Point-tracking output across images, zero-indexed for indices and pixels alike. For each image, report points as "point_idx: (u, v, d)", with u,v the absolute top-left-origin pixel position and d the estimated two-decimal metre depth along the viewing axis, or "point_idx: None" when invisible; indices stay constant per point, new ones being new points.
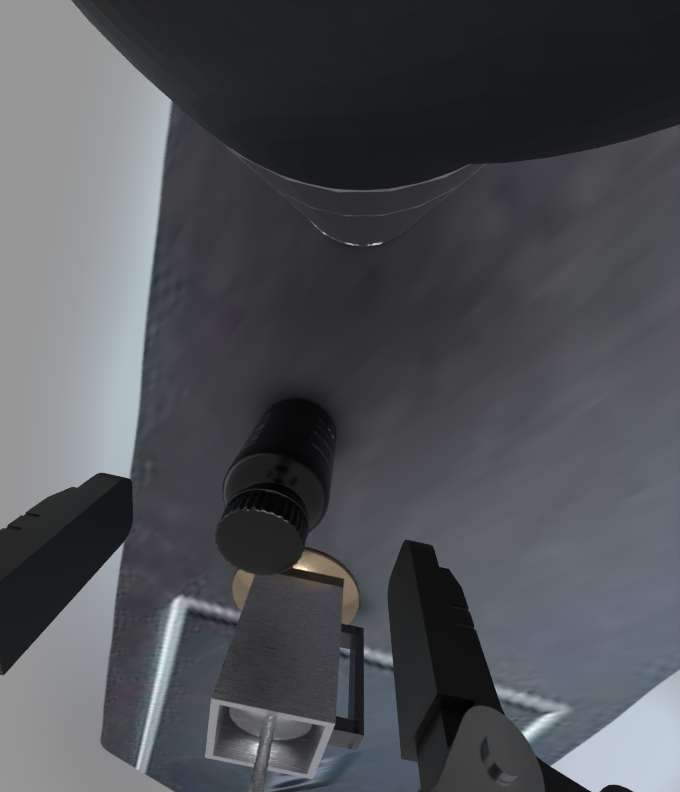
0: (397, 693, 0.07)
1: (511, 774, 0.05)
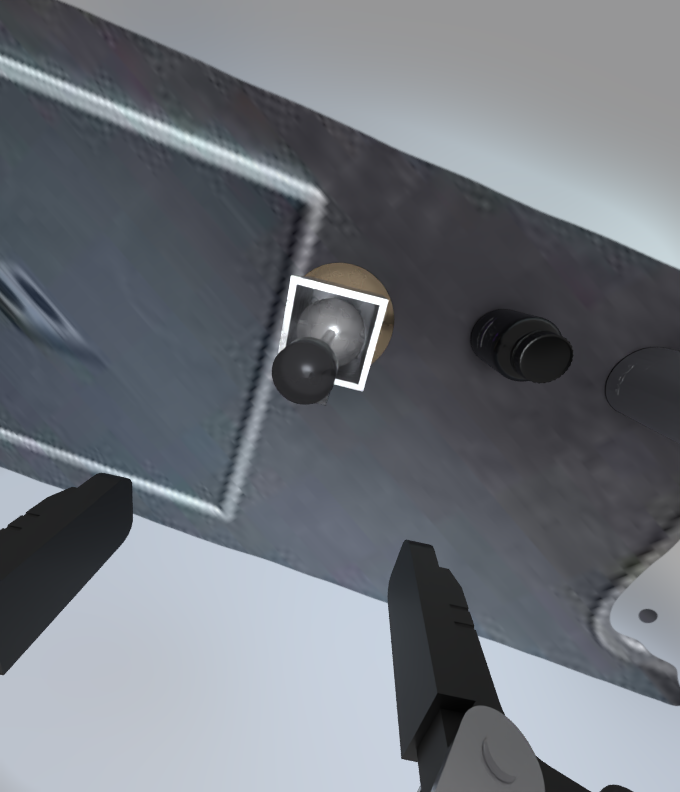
0: (397, 693, 0.07)
1: (511, 774, 0.05)
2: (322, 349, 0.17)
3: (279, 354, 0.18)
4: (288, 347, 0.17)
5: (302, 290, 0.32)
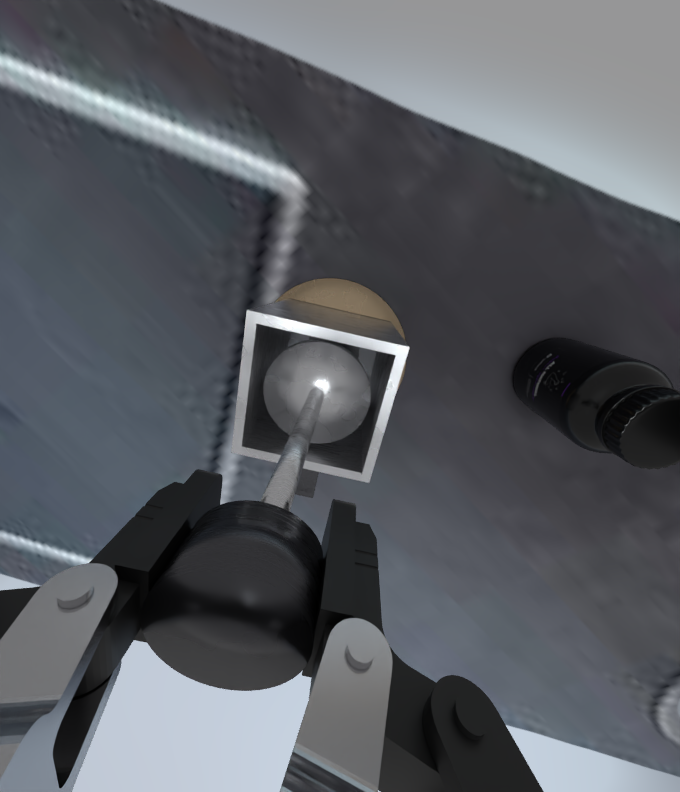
0: None
1: (363, 663, 0.05)
2: (275, 578, 0.06)
3: (154, 592, 0.06)
4: (176, 579, 0.06)
5: (271, 326, 0.21)
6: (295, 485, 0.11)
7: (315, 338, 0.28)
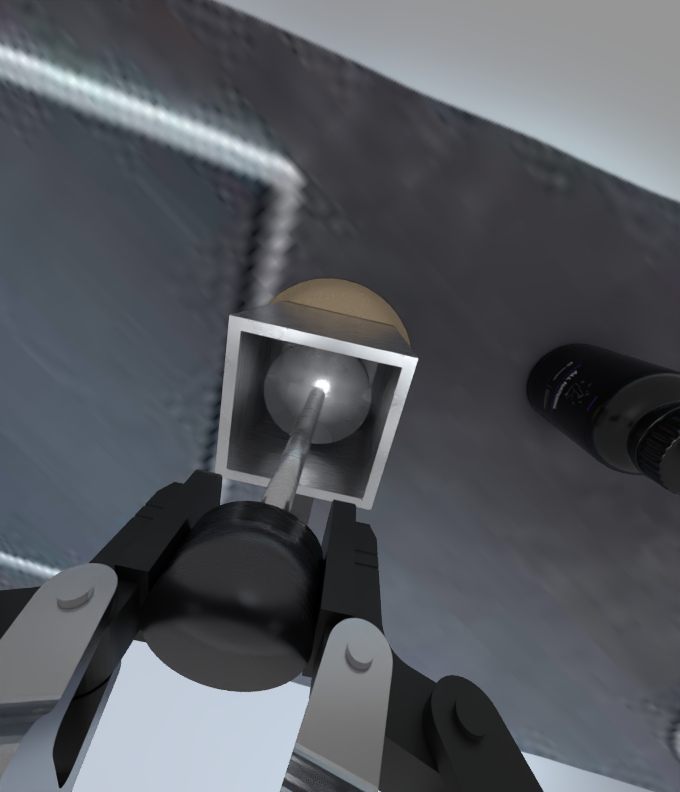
0: None
1: (363, 663, 0.05)
2: (274, 579, 0.06)
3: (153, 593, 0.06)
4: (175, 579, 0.06)
5: None
6: (295, 486, 0.11)
7: None
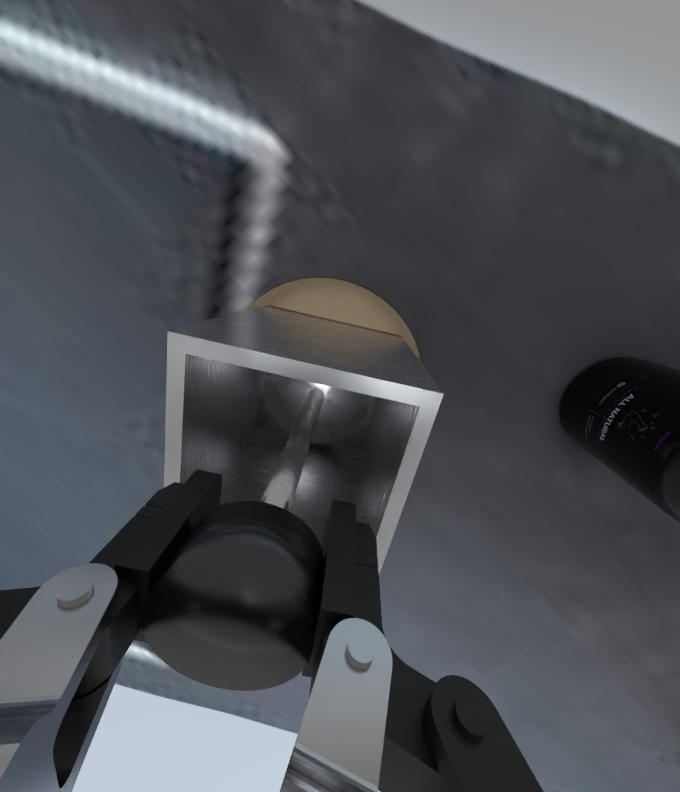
0: None
1: (363, 663, 0.05)
2: (275, 578, 0.06)
3: (154, 592, 0.06)
4: (176, 579, 0.06)
5: None
6: (295, 485, 0.11)
7: None
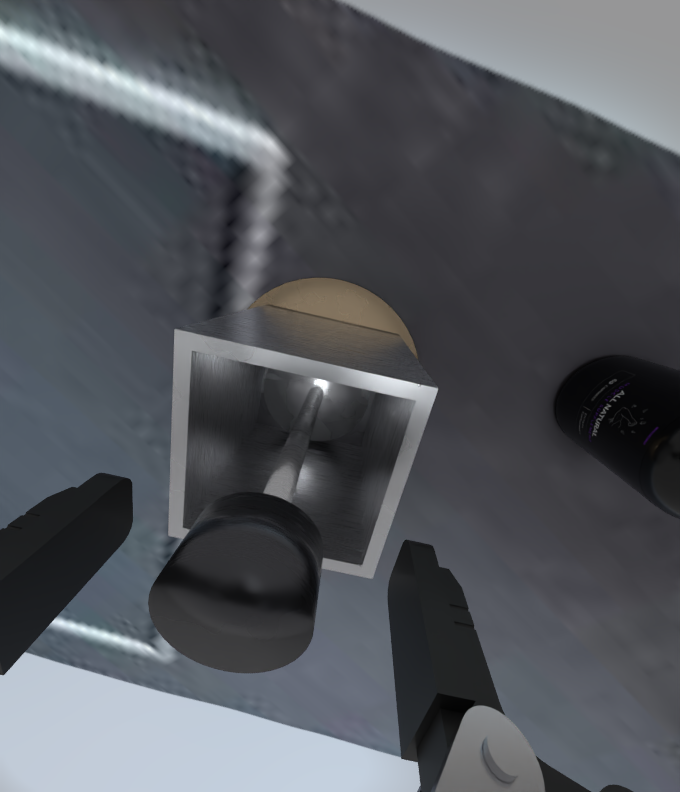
0: (397, 692, 0.07)
1: (511, 774, 0.05)
2: (277, 563, 0.06)
3: (162, 577, 0.07)
4: (183, 564, 0.06)
5: None
6: (295, 479, 0.11)
7: None
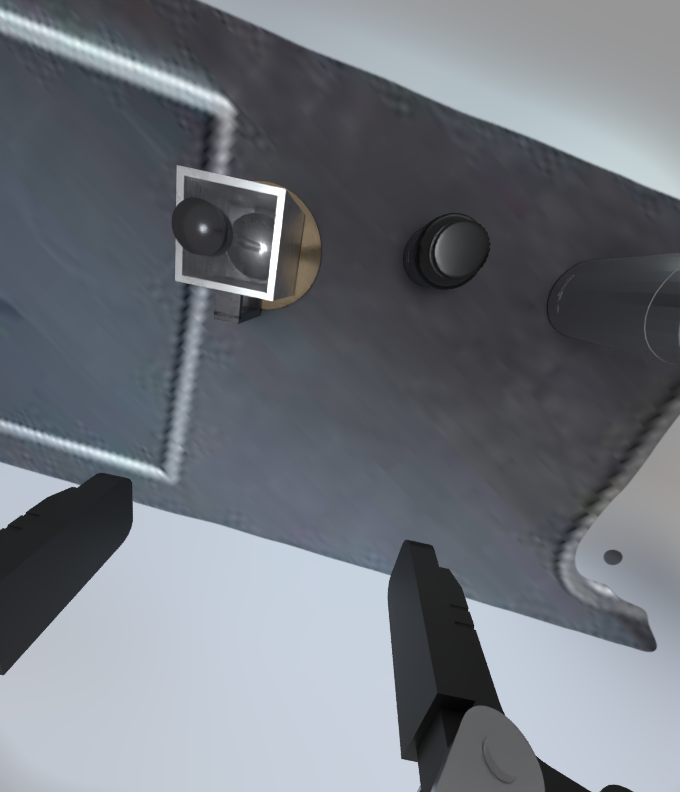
0: (397, 693, 0.07)
1: (511, 774, 0.05)
2: (210, 203, 0.22)
3: (176, 209, 0.22)
4: (182, 202, 0.22)
5: (202, 195, 0.29)
6: None
7: None
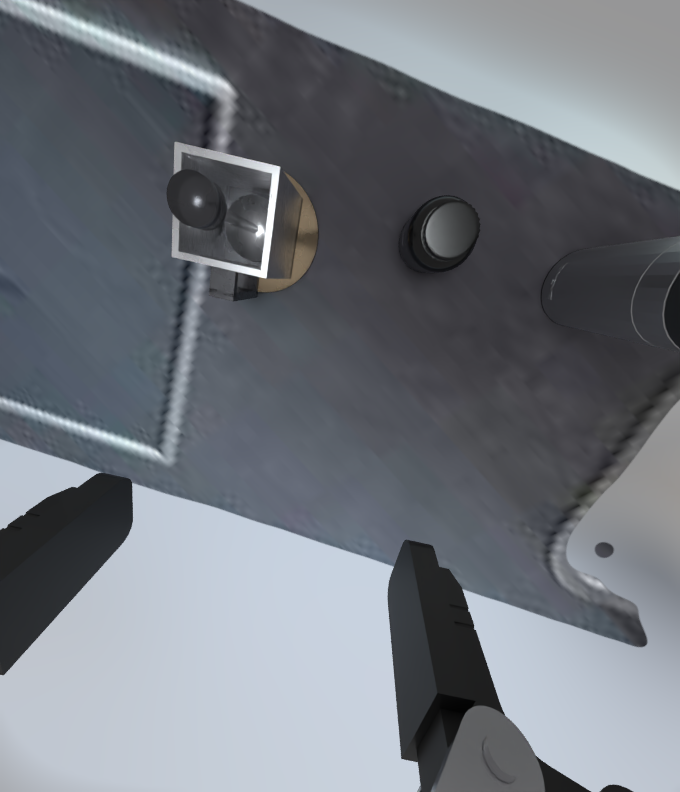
0: (397, 692, 0.07)
1: (511, 774, 0.05)
2: None
3: (170, 181, 0.22)
4: (176, 174, 0.22)
5: None
6: None
7: None
